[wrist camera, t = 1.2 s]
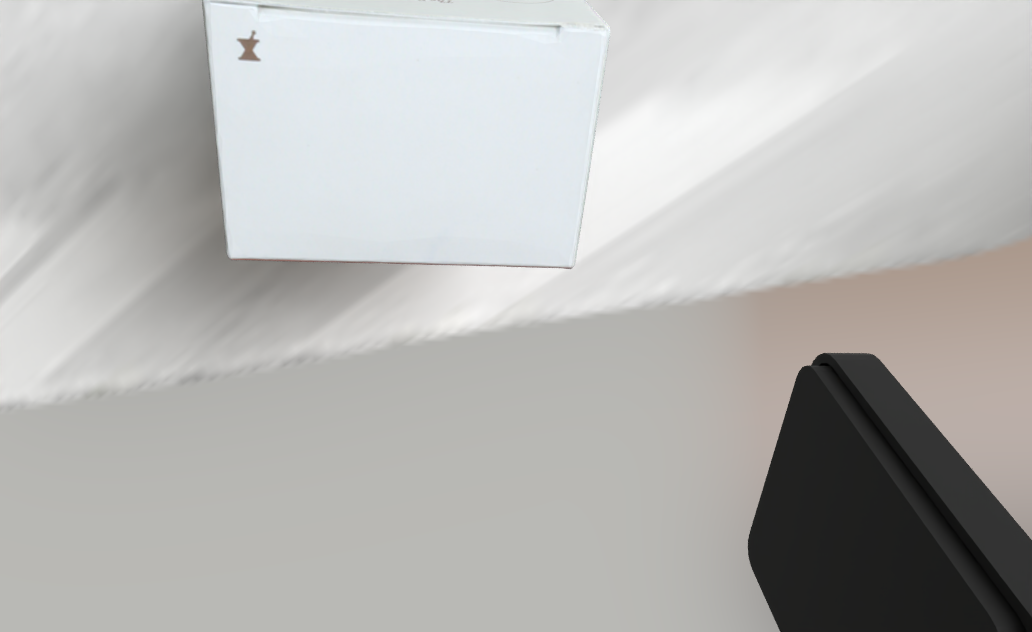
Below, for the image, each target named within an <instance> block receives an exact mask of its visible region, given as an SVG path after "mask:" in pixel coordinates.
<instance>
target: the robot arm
mask: <svg viewBox="0 0 1032 632" xmlns="http://www.w3.org/2000/svg"><path fill="white" fill-rule="evenodd" d="M748 555H749V560H750V564H751V567H752V570H753V572H754V574H755V576H756V579H757V581H758V583H759V585H760V588H761V590H762V592H763V594H764V596H765V599H766V601H767V603H768V605H769V608H770V610H771V612H772V614H773V616H774V619H775V621H776V623H777V625H778V627H779V630H780V632H1032V540H1031V539H1030V538H1029V536H1028V535H1027V534H1026V533H1025V532H1024V530H1023V529H1022V528H1021V527H1020V526H1019V525H1018V523H1017V522H1016V521H1015V520H1014V519H1013V517H1012V516H1011V515H1010V514H1009V513H1008V512H1007V510H1006V509H1005V508H1004V507H1003V506H1002V504H1001V503H1000V502H999V501H998V500H997V499H996V497H995V496H994V495H993V494H992V493H991V491H990V490H989V489H988V488H987V487H986V486H985V484H984V483H983V482H982V481H981V479H980V478H979V477H978V476H977V475H976V474H975V472H974V471H973V470H972V469H971V468H970V466H969V465H968V464H967V463H966V462H965V461H964V459H963V458H962V457H961V456H960V455H959V453H958V452H957V451H956V450H955V449H954V448H953V446H952V445H951V444H950V443H949V442H948V440H947V439H946V438H945V437H944V436H943V435H942V433H941V432H940V431H939V430H938V428H937V427H936V426H935V425H934V424H933V423H932V421H931V420H930V419H929V418H928V417H927V415H926V414H925V413H924V412H923V411H922V409H921V408H920V407H919V406H918V405H917V404H916V402H915V401H914V400H913V399H912V398H911V396H910V395H909V394H908V393H907V392H906V391H905V389H904V388H903V387H902V386H901V385H900V383H899V382H898V381H897V380H896V379H895V377H894V376H893V375H892V374H891V373H890V372H889V371H888V369H887V368H886V367H885V366H884V364H883V363H882V362H881V361H880V360H879V359H878V358H877V357H876V356H874V355H872V354H867V353H823V354H820V355H818V356H817V357H816V359H815V360H814V361H813V363H812V365H811V366H804V367H802V369H801V370H800V371H799V373H798V375H797V378H796V381H795V385H794V388H793V391H792V394H791V398H790V401H789V404H788V408H787V411H786V414H785V418H784V421H783V424H782V427H781V431H780V434H779V438H778V441H777V444H776V447H775V451H774V454H773V457H772V461H771V464H770V467H769V471H768V474H767V477H766V481H765V484H764V487H763V491H762V494H761V497H760V501H759V504H758V507H757V510H756V514H755V517H754V520H753V524H752V527H751V531H750V534H749V539H748Z"/></svg>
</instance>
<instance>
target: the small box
mask: <svg viewBox="0 0 1032 632" xmlns="http://www.w3.org/2000/svg"><path fill="white" fill-rule="evenodd" d="M202 7H203V16H204V26H205V36H206V46H207V56H208V66H209V77H210V87H211V96H212V106H213V116H214V126H215V137H216V147H217V158H218V168H219V179H220V190H221V200H222V210H223V221H224V231H225V241H226V253H227V256H228V258H229V259H230V260H265V261H300V262H343V263H391V264H425V265H470V266H507V267H540V268H565V269H572V268H573V267H574V265H575V262H576V255H577V248H578V242H579V236H580V229H581V223H582V217H583V210H584V204H585V198H586V191H587V184H588V178H589V171H590V165H591V158H592V151H593V145H594V138H595V132H596V125H597V118H598V112H599V105H600V98H601V92H602V85H603V78H604V72H605V65H606V58H607V52H608V45H609V39H610V28H609V25H608V24H607V23H606V22H605V21H604V20H603V19H602V18H601V17H600V16H599V14H598V13H597V12H596V11H595V10H594V9H593V8H592V7H591V5H590V4H589V3H588V2H587V1H586V0H202Z"/></svg>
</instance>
